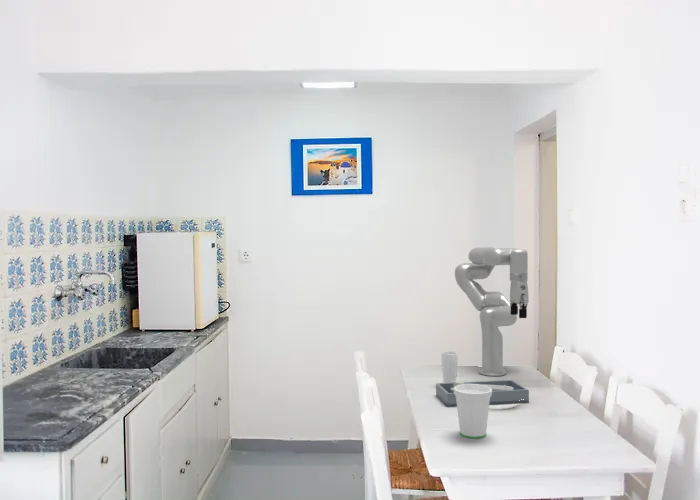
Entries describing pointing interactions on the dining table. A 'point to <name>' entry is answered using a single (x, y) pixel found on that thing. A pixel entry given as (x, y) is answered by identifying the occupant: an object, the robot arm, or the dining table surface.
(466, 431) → the cup
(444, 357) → the drinking glass
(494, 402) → the bin
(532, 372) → the dining table surface
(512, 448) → the dining table surface
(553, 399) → the dining table surface
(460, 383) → the white electric toothbrush
